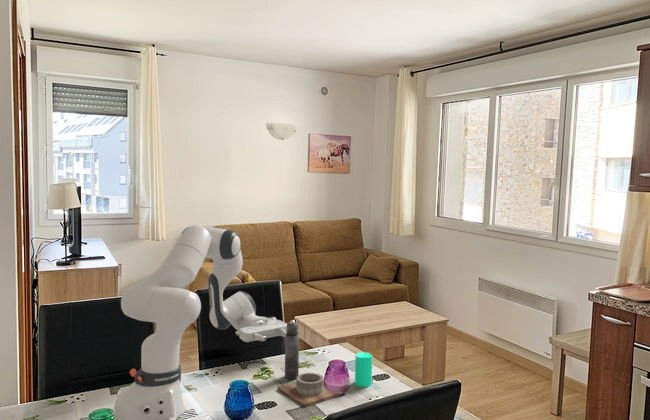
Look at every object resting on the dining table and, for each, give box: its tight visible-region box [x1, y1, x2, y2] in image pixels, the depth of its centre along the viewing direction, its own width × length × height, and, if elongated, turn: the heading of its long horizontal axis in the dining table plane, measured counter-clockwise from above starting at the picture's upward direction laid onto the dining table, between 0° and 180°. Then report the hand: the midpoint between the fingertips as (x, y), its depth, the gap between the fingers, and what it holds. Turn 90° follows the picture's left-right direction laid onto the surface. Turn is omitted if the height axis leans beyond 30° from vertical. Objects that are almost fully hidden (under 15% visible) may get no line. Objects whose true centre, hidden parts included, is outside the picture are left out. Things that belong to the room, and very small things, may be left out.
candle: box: [354, 352, 373, 388], centre depth 179 cm, size 6×6×12 cm
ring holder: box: [276, 372, 340, 408], centre depth 171 cm, size 16×16×5 cm
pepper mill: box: [284, 319, 300, 381], centre depth 182 cm, size 5×5×21 cm
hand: (274, 336), depth 191 cm, fingers open, 8 cm apart
